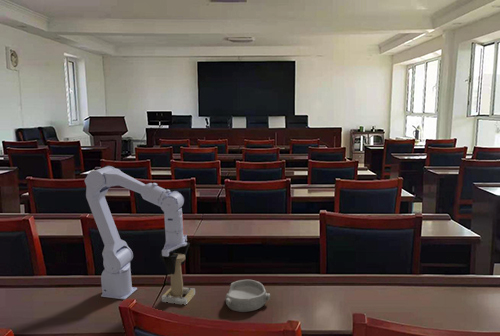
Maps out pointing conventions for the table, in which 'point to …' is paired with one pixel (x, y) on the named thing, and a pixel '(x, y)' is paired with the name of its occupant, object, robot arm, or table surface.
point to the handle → (177, 277)
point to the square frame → (179, 300)
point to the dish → (246, 296)
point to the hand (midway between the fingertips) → (176, 268)
